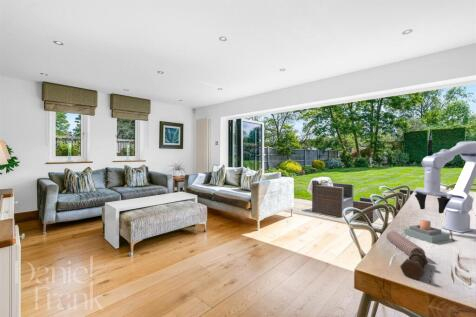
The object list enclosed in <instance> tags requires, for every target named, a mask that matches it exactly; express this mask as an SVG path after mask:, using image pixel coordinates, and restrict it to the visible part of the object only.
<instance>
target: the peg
mask: <svg viewBox="0 0 476 317" xmlns="http://www.w3.org/2000/svg"><path fill="white" fill-rule="evenodd" d="M419 225H420V228H421V229H424V230H430V229H431V227H432V226H431V225H432V224H431V221H430V220H425V219H421V220H419Z"/></svg>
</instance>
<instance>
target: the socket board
mask: <svg viewBox="0 0 476 317" xmlns="http://www.w3.org/2000/svg"><path fill="white" fill-rule="evenodd" d="M404 235H406V236H408V237H412V238H415V239H418V240H421V241H423V242H427V243H429V244H434V243H435V244H436V243H438V242H443V241H448V240H450V236H451V234H450V233H449V232H445V231H442V229H440V228H437V227H433V226H431V229H430V230H424V229H421V228H420V224H415V225H411V226H409V227H407V228H404Z"/></svg>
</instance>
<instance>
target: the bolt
mask: <svg viewBox="0 0 476 317" xmlns="http://www.w3.org/2000/svg"><path fill="white" fill-rule="evenodd" d="M428 264H429V261H428V259H427V256H426V254H425V255H424V254H423V253H421V252H413V253H412V254H411V255H410V256H408V258H406V259H405V260H404V261H403V262H402V263H401V265H400V266H399V267H400V269H401V271H402V274H403V275H404V276H405V277H407V278H409V279H412V280H415V281H418V280H420V279H421V277H423V276H424V274H425V273H426V271H425V270H424V268H425V267H426V265H428Z"/></svg>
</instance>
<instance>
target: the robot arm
mask: <svg viewBox="0 0 476 317" xmlns="http://www.w3.org/2000/svg"><path fill="white" fill-rule="evenodd" d="M458 155H459V156H460V157H461V159H462V160H464V161H465V164H464V166H463V169H462V170H461V173H460V175H459V177H458V180H457V181H456V184H455V186H454V189H452V190H449V191H447V192H443V191H441V176H442V175H441V174H442V169H444V166H445V165H446V164H447V163H449V162H451V161H453V160H454V158H455V156H458ZM420 164H421V166H422V171H423V172H424V178H423V179H424V182H423V184H424V185H423V186H424V188H423V189H421V188H419V189H418V188H414V189H413V193H414V197H415V198H416V200H417V203H418V205H419V208H420V210H425V209H426V199H427V196H432V197H437V202H438V214H444V213H445V225H443V226H440V227H441V228H442V229H445V230H449V231H453V232H457V233H461V234H463V233H466V232H471V231H473V229H472V228H471V216H470V214H469V213H470V212H471V210H472V208H473V203H474V198H473V197H472V196H471V195H470V194H469V193H470V190H471V188H472V186H473V184H474V182H475V179H476V141H474V140H473V141H459V142H456V144H455V146H453V147H451V148H449V149H446V148H443V149H440V150H439V151H438V152H435V153H433V154H432V155H427V156H425V157H423V159H422V160H421V162H420ZM444 211H445V212H444Z"/></svg>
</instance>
